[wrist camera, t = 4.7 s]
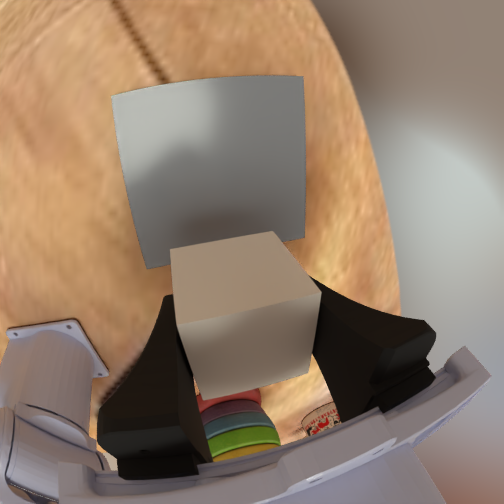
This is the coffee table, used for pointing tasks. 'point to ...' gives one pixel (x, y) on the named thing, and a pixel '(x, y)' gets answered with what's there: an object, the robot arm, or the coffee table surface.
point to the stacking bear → (237, 425)
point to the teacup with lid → (321, 419)
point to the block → (243, 312)
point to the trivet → (213, 160)
